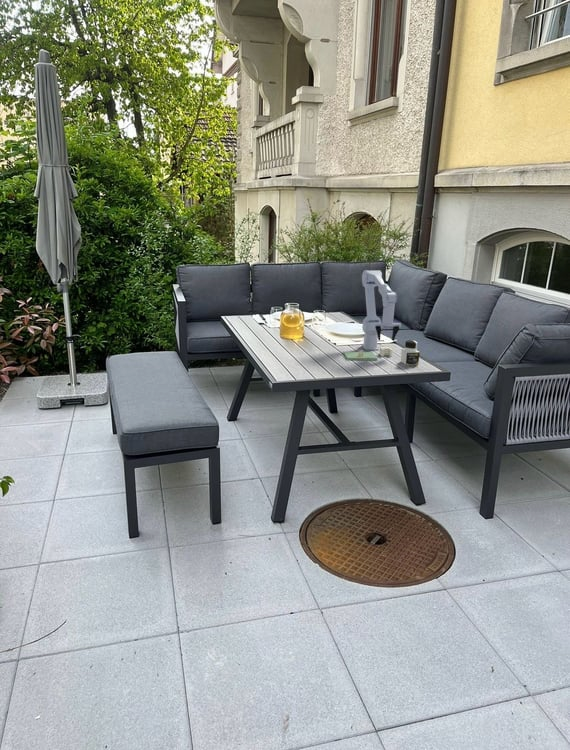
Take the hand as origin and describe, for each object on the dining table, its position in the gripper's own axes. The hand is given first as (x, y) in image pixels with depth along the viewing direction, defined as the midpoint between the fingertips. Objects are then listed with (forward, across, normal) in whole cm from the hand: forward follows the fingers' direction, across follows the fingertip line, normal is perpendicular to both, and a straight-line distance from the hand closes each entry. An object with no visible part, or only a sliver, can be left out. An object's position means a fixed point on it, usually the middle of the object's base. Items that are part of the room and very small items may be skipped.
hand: (386, 339), depth 304 cm
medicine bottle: (+10, +10, -12) cm, 19 cm away
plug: (+9, +1, +3) cm, 10 cm away
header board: (+9, -14, -1) cm, 17 cm away
